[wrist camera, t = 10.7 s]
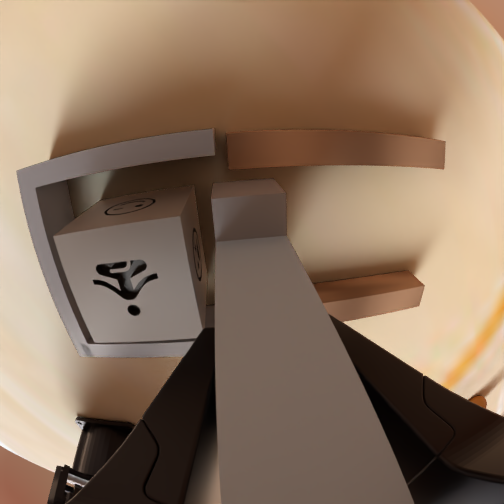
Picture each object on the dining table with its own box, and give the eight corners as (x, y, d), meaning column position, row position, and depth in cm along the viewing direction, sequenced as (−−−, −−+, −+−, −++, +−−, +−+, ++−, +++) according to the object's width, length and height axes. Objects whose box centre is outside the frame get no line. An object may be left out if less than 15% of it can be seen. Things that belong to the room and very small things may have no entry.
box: (94, 324, 16) (79, 356, 13) (48, 160, 12) (16, 170, 9) (232, 317, 17) (235, 352, 14) (214, 128, 12) (212, 128, 10)
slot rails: (240, 313, 17) (243, 335, 15) (225, 132, 12) (226, 133, 11) (404, 289, 18) (419, 305, 16) (423, 137, 13) (445, 141, 11)
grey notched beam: (225, 297, 14) (249, 568, 3) (212, 183, 12) (201, 583, 1) (275, 291, 14) (351, 549, 4) (273, 178, 12) (488, 492, 1)
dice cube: (194, 184, 13) (180, 216, 9) (207, 276, 16) (204, 337, 11) (100, 200, 13) (52, 236, 9) (122, 284, 15) (94, 342, 11)
